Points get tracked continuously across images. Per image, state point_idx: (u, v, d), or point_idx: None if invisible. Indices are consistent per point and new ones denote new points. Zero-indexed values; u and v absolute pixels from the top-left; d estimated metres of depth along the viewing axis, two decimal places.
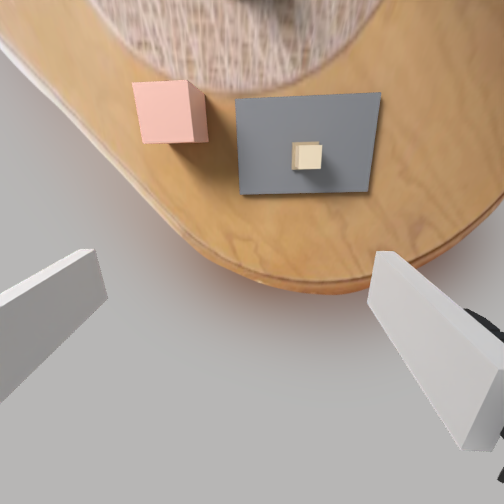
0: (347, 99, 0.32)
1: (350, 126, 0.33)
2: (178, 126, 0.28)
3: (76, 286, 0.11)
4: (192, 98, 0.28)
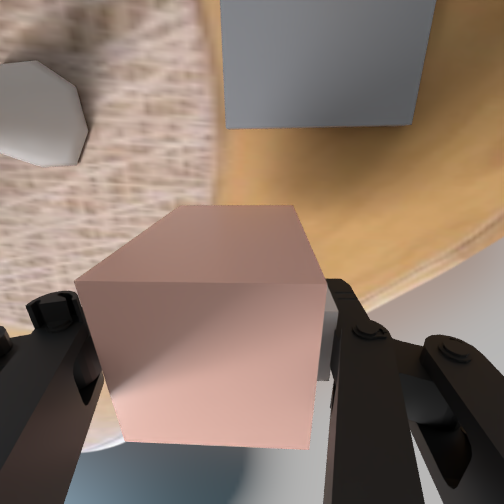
0: None
1: None
2: (256, 337, 0.06)
3: None
4: (158, 257, 0.07)
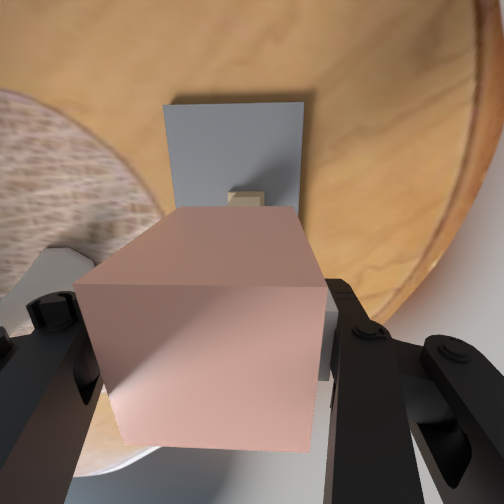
0: (175, 154, 0.24)
1: (208, 145, 0.23)
2: (256, 340, 0.06)
3: None
4: (157, 259, 0.07)
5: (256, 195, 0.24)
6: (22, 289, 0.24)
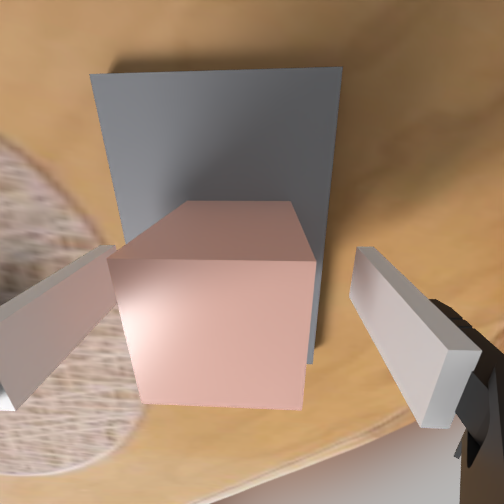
0: (119, 161, 0.14)
1: (173, 145, 0.13)
2: (257, 307, 0.08)
3: (99, 280, 0.11)
4: (173, 241, 0.08)
5: None
6: None
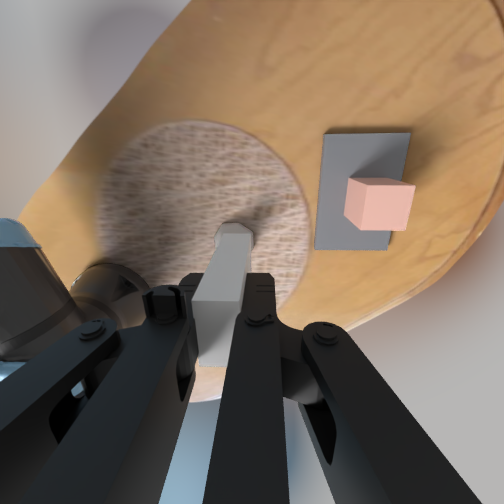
0: (326, 163, 0.39)
1: (348, 157, 0.38)
2: (400, 197, 0.32)
3: None
4: (375, 183, 0.33)
5: None
6: None
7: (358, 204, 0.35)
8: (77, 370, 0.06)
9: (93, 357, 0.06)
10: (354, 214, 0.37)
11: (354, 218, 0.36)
